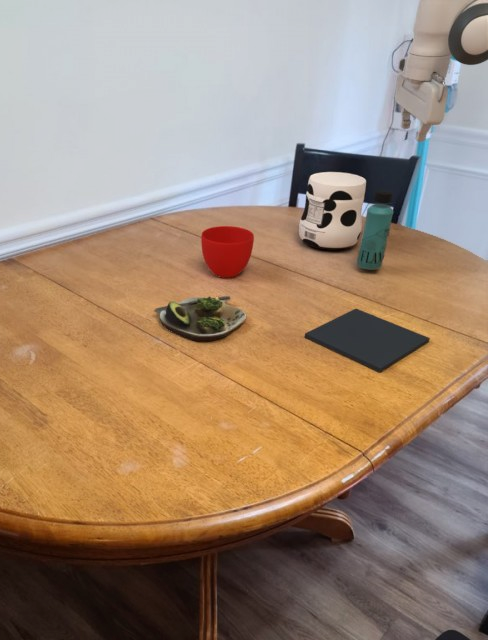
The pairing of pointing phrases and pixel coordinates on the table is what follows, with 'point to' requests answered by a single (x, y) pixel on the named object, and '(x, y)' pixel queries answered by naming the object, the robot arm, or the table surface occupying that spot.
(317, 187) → the milk container
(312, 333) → the mat
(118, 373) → the table surface
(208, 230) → the ceramic cup
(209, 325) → the salad plate
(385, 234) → the beverage bottle
